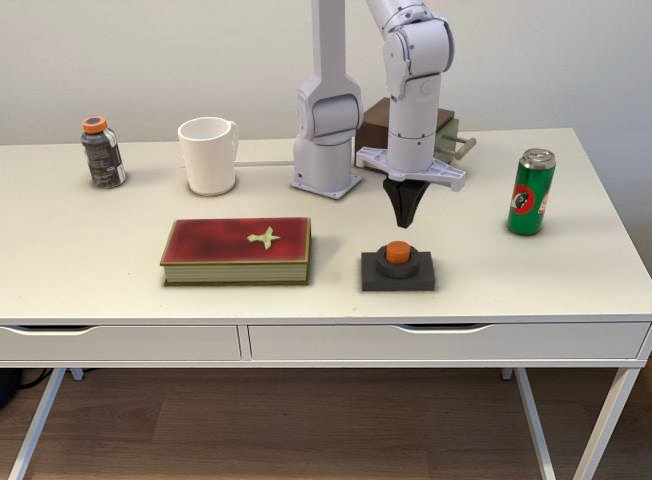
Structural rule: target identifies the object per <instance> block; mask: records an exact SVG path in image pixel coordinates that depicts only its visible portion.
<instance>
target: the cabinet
mask: <svg viewBox="0 0 652 480" xmlns="http://www.w3.org/2000/svg"><path fill="white" fill-rule="evenodd" d="M455 113H456V111H454V110H449V109H445V108H440V107H438V114H437V124H436V132H437V131H438V130H439V129H440V128H441V127H444V126H445V125H446V124H447V123H448V122H449V121H450V120H451V119H452V118H455ZM389 114H390V97H388V96H387V97H386V96H384V97H383V98H381V99H380V100H378V101H377V102H375V104H373V105H372V106H371V107H369V108H368V109H367V110H366V111H364V118H363V122H362V124H361V127H360V128H359V129H356V136H354V141H353V142H354V147H353V148H354V150H353V151H354V153H353V154H354V155H353V157H354V158H353V162H354V163H353V166H354V167H357V168H359V167H358V166H356V153H357V152H358V151H359V150H360V149H362V148H363V147H368V148H374V149H388V133H389ZM360 168H361V169H364V170H368V171H373V172H376V173H380V174H384V175H387V172H385V171H383V170H380V169H377V168H373V167H369V166H364V167H360Z"/></svg>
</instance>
